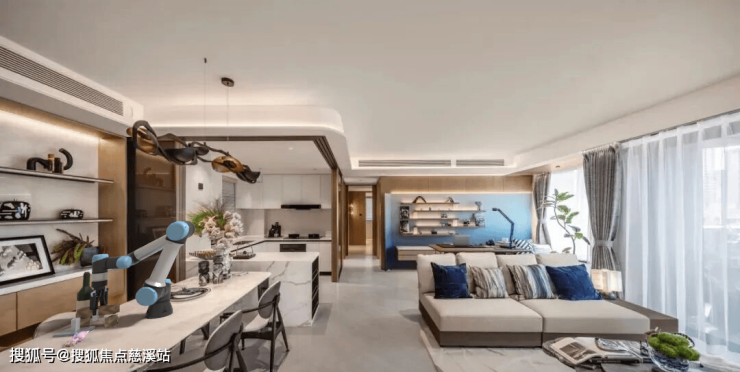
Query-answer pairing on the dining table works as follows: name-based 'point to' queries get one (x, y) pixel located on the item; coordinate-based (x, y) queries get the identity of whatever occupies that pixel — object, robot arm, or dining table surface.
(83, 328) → the fulcrum
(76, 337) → the rabbit figure
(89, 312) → the walnut beam
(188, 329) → the dining table surface
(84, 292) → the wine bottle
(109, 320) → the board
